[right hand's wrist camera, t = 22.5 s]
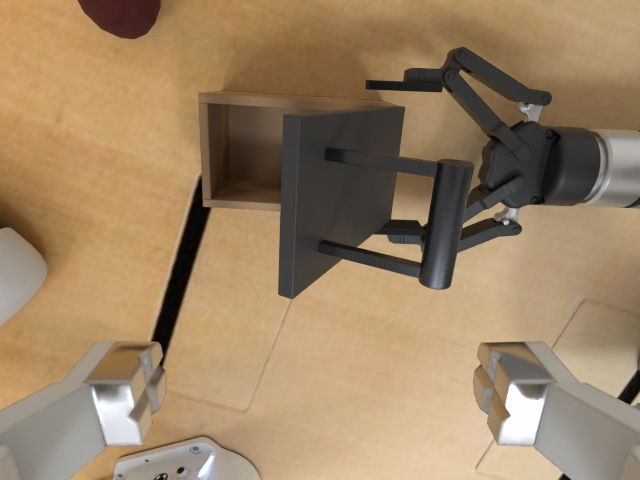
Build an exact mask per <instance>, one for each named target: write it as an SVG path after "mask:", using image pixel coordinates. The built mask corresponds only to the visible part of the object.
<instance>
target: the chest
mask: <svg viewBox="0 0 640 480" xmlns="http://www.w3.org/2000/svg"><path fill="white" fill-rule="evenodd" d="M198 96H199V120H200V143H201V166H202V190H203V206H204V207H218V208H235V209H252V210H269V211H281V175H282V138H283V115H284V114H295V113H308V112H321V111H334V110H348V109H361V108H374V107H387V106H396V105H393V104H391V103H388V102H385V101H379V100H363V99H347V98H332V97H316V96H300V95H285V94H269V93H253V92H238V91H215V92H206V93H199V94H198Z"/></svg>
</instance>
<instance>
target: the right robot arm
mask: <svg viewBox="0 0 640 480" xmlns="http://www.w3.org/2000/svg"><path fill="white" fill-rule="evenodd" d="M162 357H163V353H162V349H161V345H160V344H159V343H158V342H134V341H119V342H118V341H99V342H96V343H94V344H93V345H92V347H91V348H90V349H89V350H88V351H87V352H86V353H85V355H84V356H83V357H82V358H81V359H80V360H79V362H78V363H77V364H76V365H75V366H74V367H73V368H72V370H71V371H70V372H69V373H68V374H67V375H66V377H65V378H64V379H63V380H62V381H61V382H60V383H53V384H51V385H49V386H47V387H45V388H43V389H41V390H39V391H37V392H35V393H33V394H31V395H29V396H27V397H25V398H23V399H21V400H19V401H17V402H15V403H13V404H11V405H9V406H8V407H6V408H4V409H2V410H0V480H69V479H70V478H71V477H72V476H73V475H75V474H76V473H77V472H78V471H79V470H80V469H82V468H83V467H84V466H85V465H86V464H88V463H89V462H90V461H91V460H92V459H93V458H95V457H96V456H97V455H98V454H99V453H100V452H102V451H103V450H104V449H105V446H135V445H143V442H144V440H145V438H146V436H147V434H148V432H149V430H150V428H151V426H152V424H153V420H152V414H154V413H155V412H156V411H158V410H159V409H160V408H161V406H162V403H163V401H164V398H165V393H166V389H167V378H166V371H165V370H164V369H163V368H162V367H161V366H160V365H159V363H160V361H161V359H162ZM477 357H478V359H479V361H480V363H481V365H480V366H479V367H478V368H477V369H476V370H475V371H474V379H473V386H474V394H475V398H476V401H477V403H478V406H479V408H480V409H481V410H482V411H484V412H485V413H486V414H488V420H487V424H488V426H489V428H490V430H491V432H492V434H493V436H494V438H495V440H496V442H497V444H498V445H505V446H535V449H536V450H537V451H539V452H540V453H541V454H542V455H543V456H544V457H546V458H547V459H548V460H549V461H550V462H551V463H553V464H554V465H555V466H556V467H557V468H559V469H560V470H561V471H562V472H563V473H564V474H566V475H567V476H568V477H569V478H570V479H571V480H640V410H638V409H636V408H634V407H632V406H630V405H628V404H626V403H625V402H623V401H621V400H619V399H617V398H615V397H613V396H611V395H609V394H607V393H605V392H603V391H601V390H599V389H597V388H595V387H593V386H591V385H589V384H587V383H580V382H579V381H578V380H577V379H576V378H575V377H574V375H573V374H572V373H571V372H570V371H569V370H568V368H567V367H566V366H565V365H564V364H563V363H562V362H561V360H560V359H559V358H558V357H557V356H556V355H555V353H554V352H553V351H552V350H551V349H550V348H549V347H548V345H547V344H546V343H544V342H542V341H521V342H481V344H480V346H479V348H478V353H477ZM114 480H260V476H259V474H258V472H257V470H256V469H255V467H254V466H253V465H252V464H251V463H250V462H249V461H248V460H246V459H245V458H243V457H242V456H240V455H238V454H236V453H234V452H231V451H228V450H226V449H223V448H221V447H220V446H219V445H217V444H216V443H215V442H214V441H212V440H211V439H209V438H207V437H198V438H195V439H191V440H187V441H183V442H179V443H175V444H171V445H167V446H163V447H159V448H156V449H152V450H148V451H144V452H140V453H136V454H132V455H128V456H125V457H121V458H119V459H118V461H117V464H116V466H115V469H114Z"/></svg>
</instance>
